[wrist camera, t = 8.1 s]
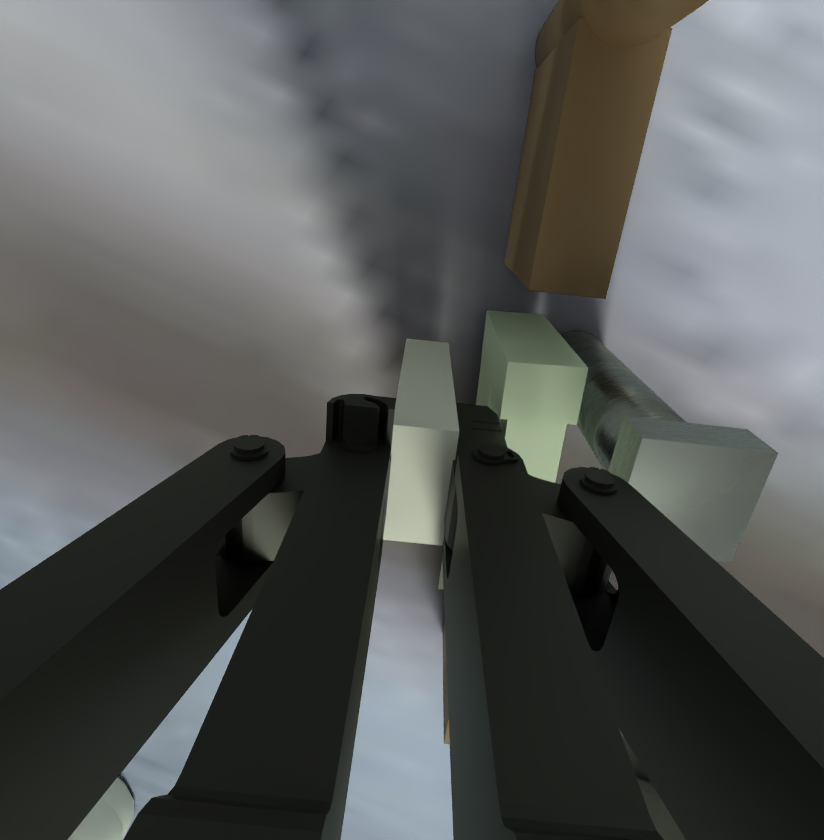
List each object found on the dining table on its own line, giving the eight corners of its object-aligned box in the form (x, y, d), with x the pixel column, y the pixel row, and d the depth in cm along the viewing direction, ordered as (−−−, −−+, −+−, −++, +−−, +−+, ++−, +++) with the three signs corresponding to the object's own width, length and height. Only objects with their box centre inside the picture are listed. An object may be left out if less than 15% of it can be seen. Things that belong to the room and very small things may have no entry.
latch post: (617, 328, 18) (778, 452, 9) (600, 396, 18) (731, 562, 10) (545, 321, 18) (642, 438, 9) (532, 388, 18) (608, 548, 10)
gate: (507, 532, 20) (530, 646, 15) (460, 528, 20) (468, 640, 15) (543, 314, 17) (588, 368, 12) (486, 310, 17) (507, 362, 12)
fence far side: (617, 8, 14) (767, -142, 8) (562, 269, 17) (640, 318, 10) (543, 0, 14) (630, -157, 8) (500, 262, 17) (539, 307, 10)
